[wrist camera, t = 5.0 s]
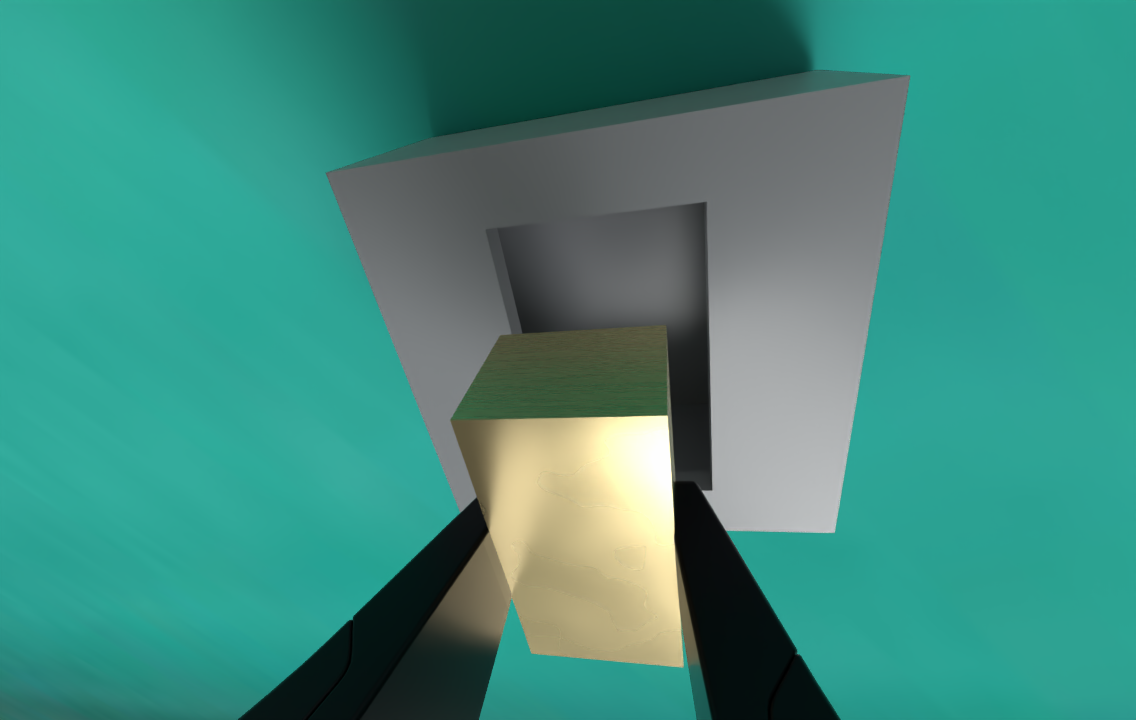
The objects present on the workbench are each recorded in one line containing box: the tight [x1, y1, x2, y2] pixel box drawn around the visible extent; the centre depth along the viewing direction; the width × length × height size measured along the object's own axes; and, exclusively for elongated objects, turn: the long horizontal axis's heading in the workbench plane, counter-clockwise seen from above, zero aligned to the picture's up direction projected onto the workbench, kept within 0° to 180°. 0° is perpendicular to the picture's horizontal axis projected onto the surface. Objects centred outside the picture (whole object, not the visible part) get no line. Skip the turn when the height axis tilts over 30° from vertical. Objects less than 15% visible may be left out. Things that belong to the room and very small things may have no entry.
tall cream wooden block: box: [450, 325, 683, 667], centre depth 9 cm, size 3×6×2 cm, turn 9°
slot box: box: [326, 70, 910, 533], centre depth 15 cm, size 12×12×6 cm
